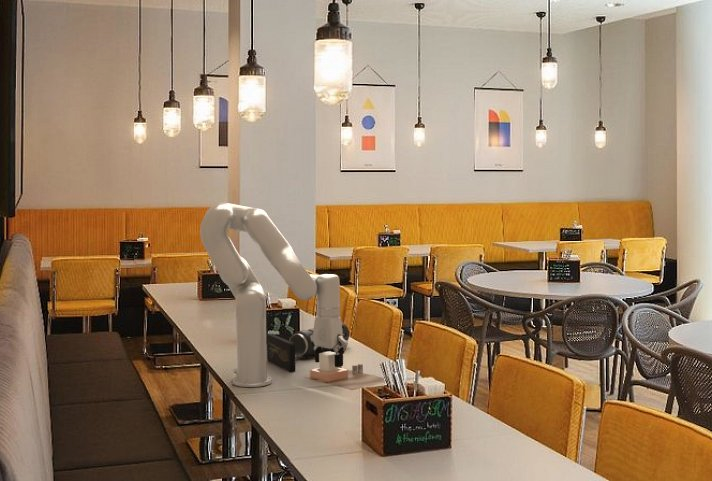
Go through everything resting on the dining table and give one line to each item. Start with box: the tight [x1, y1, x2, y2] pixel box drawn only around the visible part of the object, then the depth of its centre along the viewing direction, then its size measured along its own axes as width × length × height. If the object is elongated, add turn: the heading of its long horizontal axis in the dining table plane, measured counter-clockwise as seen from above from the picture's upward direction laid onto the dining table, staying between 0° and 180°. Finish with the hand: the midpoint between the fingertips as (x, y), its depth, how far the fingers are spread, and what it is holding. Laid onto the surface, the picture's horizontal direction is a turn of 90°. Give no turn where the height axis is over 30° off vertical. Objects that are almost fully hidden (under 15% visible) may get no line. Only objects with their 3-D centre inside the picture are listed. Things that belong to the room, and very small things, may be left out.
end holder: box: [309, 367, 349, 382], centre depth 292 cm, size 9×9×2 cm
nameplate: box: [266, 333, 296, 373], centre depth 313 cm, size 21×2×10 cm, turn 28°
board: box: [304, 363, 386, 391], centre depth 290 cm, size 23×18×4 cm
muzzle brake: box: [288, 321, 350, 358], centre depth 335 cm, size 10×28×10 cm, turn 148°
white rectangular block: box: [318, 350, 338, 373], centre depth 292 cm, size 4×4×8 cm
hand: (329, 364), depth 292 cm, fingers open, 9 cm apart
